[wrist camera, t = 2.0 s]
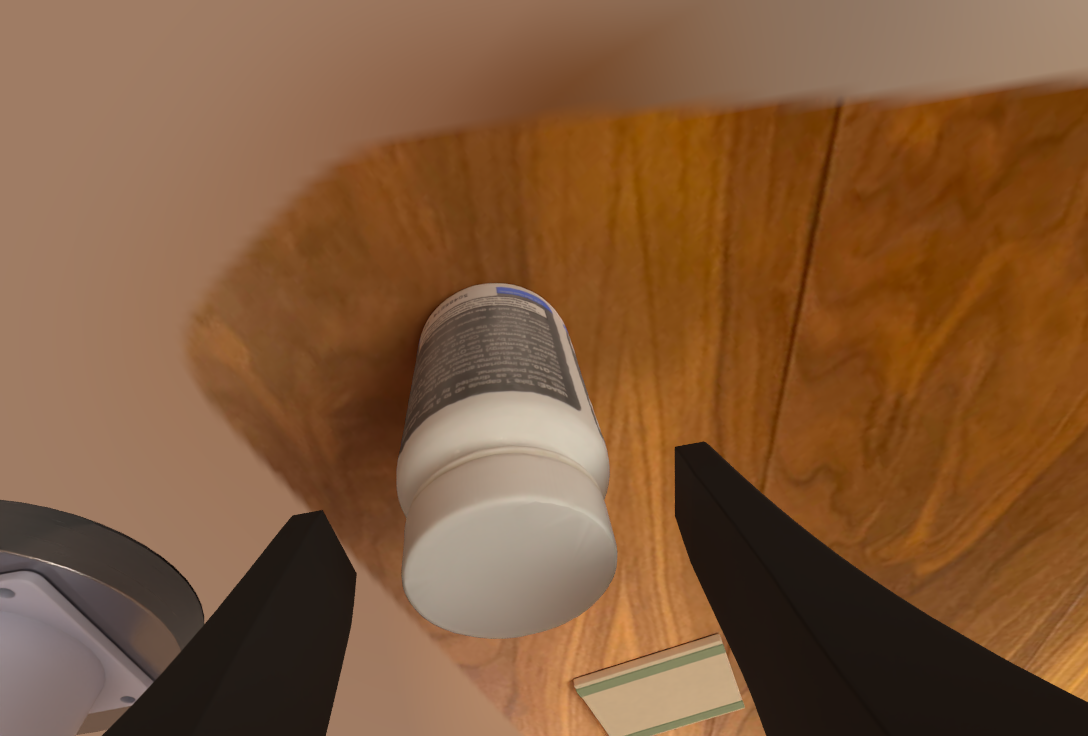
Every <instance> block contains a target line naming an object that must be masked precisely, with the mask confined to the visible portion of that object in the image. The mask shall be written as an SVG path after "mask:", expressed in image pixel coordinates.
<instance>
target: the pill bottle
mask: <svg viewBox="0 0 1088 736" xmlns="http://www.w3.org/2000/svg"><path fill="white" fill-rule="evenodd" d="M609 477H610V470H609V458H608V453H607V449H606V445H605V441H604V439H603V436H602V434H601V431H600V427H599V424H598V421H597V419H596V416H595V414H594V411H593V407H592V404H591V402H590V399H589V396H588V393H587V390H586V387H585V384H584V381H583V378H582V375H581V371H580V368H579V365H578V362H577V358H576V355H575V351H574V349H573V346H572V343H571V340H570V337H569V335H568V332H567V329H566V327H565V325H564V323H563V321H562V319H561V318H560V316H559V315H558V313H557V312H556V311H555V309H554V308H553V307H552V306H551V305H550V304H549V303H548V302H547V301H545V300H544V299H543V298H542V297H540V296H539V295H537V294H536V293H534V292H532V291H530V290H527V289H525V288H523V287H520V286H516V285H512V284H503V283H488V284H480V285H475V286H472V287H469V288H466V289H464V290H461V291H459V292H457V293H456V294H454V295H452V296H451V297H449V298H447V299H446V300H445V301H444V302H443V303H441V304H440V305H439V306H438V307H437V308H436V310H435V311H434V312H433V313H432V314H431V315H430V317H429V318H428V320H427V322H426V324H425V326H424V329H423V331H422V334H421V337H420V340H419V345H418V351H417V357H416V364H415V369H414V375H413V381H412V386H411V392H410V398H409V401H408V409H407V414H406V419H405V427H404V432H403V437H402V442H401V448H400V452H399V456H398V464H397V494H398V499H399V502H400V505H401V508H402V510H403V512H404V514H405V516H406V518H407V519H406V524H405V530H404V549H403V560H402V584H403V589H404V592H405V594H406V596H407V598H408V600H409V602H410V603H411V604H412V606H413V607H414V608H415V610H416V611H417V612H418V613H419V614H420V615H421V616H422V617H424V618H425V619H426V620H428V621H429V622H431V623H432V624H434V625H436V626H438V627H441V628H443V629H445V630H448V631H450V632H453V633H458V634H462V635H467V636H472V637H478V638H490V639H503V638H515V637H522V636H526V635H530V634H535V633H539V632H543V631H546V630H549V629H552V628H555V627H558V626H560V625H562V624H565V623H567V622H568V621H570V620H572V619H573V618H576V617H578V616H579V615H581V614H582V613H583V612H585V611H586V610H588V609H589V608H590V607H591V606H592V605H593V604H594V603H595V602H596V601H597V600H598V599H599V598H600V597H601V596H602V595H603V593H604V592H605V591H606V589H607V588H608V586H609V584H610V583H611V581H612V579H613V577H614V574H615V571H616V565H617V546H616V541H615V538H614V534H613V530H612V527H611V523H610V519H609V515H608V512H607V508H606V505H605V502H604V499H605V496H606V493H607V489H608V484H609Z"/></svg>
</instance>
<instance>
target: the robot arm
mask: <svg viewBox="0 0 1088 736" xmlns="http://www.w3.org/2000/svg"><path fill="white" fill-rule="evenodd" d="M675 517H676V520H677V523H678V526H679V529H680V532H681V535H682V538H683V541H684V544H685V547H686V550H687V553H688V556H689V559H690V562H691V564H692V566H693V568H694V571H695V573H696V575H697V577H698V579H699V582H700V584H701V586H702V588H703V590H704V592H705V595H706V597H707V599H708V601H709V603H710V605H711V607H712V610H713V612H714V614H715V616H716V618H717V620H718V622H719V625H720V627H721V629H722V631H723V633H724V635H725V637H726V639H727V642H728V644H729V646H730V648H731V650H732V652H733V654H734V657H735V659H736V661H737V663H738V665H739V667H740V669H741V672H742V674H743V676H744V679H745V681H746V683H747V686H748V688H749V691H750V693H751V695H752V698H753V701H754V703H755V706H756V709H757V712H758V714H759V717H760V720H761V723H762V725H763V728H764V731H765V733H766V736H1088V702H1086V701H1084V700H1082V699H1080V698H1078V697H1076V696H1074V695H1072V694H1070V693H1068V692H1066V691H1064V690H1062V689H1061V688H1059V687H1057V686H1055V685H1053V684H1051V683H1049V682H1047V681H1045V680H1043V679H1041V678H1039V677H1038V676H1036V675H1034V674H1032V673H1030V672H1028V671H1026V670H1024V669H1022V668H1020V667H1018V666H1017V665H1015V664H1013V663H1011V662H1009V661H1007V660H1005V659H1004V658H1002V657H1000V656H998V655H996V654H995V653H993V652H991V651H990V650H988V649H986V648H984V647H983V646H981V645H979V644H977V643H976V642H974V641H972V640H970V639H969V638H967V637H965V636H964V635H962V634H960V633H958V632H957V631H955V630H953V629H951V628H950V627H948V626H946V625H944V624H943V623H941V622H939V621H938V620H936V619H934V618H932V617H931V616H929V615H927V614H926V613H924V612H923V611H921V610H919V609H918V608H916V607H915V606H913V605H912V604H910V603H908V602H907V601H905V600H904V599H902V598H900V597H899V596H897V595H896V594H894V593H893V592H891V591H890V590H888V589H887V588H885V587H884V586H882V585H881V584H879V583H878V582H876V581H875V580H873V579H872V578H870V577H869V576H867V575H866V574H864V573H863V572H862V571H860V570H859V569H857V568H856V567H855V566H853V565H852V564H850V563H849V562H848V561H846V560H845V559H843V558H842V557H841V556H839V555H838V554H837V553H835V552H834V551H833V550H831V549H830V548H829V547H827V546H826V545H825V544H823V543H822V542H821V541H819V540H818V539H817V538H815V537H814V536H813V535H812V534H810V533H809V532H808V531H807V530H805V529H804V528H803V527H801V526H800V525H799V524H798V523H796V522H795V521H794V520H793V519H792V518H790V517H789V516H788V515H787V514H786V513H784V512H783V511H782V510H781V509H780V508H778V507H777V506H776V505H775V504H774V503H772V502H771V501H770V500H769V499H768V498H767V497H765V496H764V495H763V494H762V493H761V492H760V491H759V490H757V489H756V488H755V487H754V486H753V485H752V484H751V483H750V482H748V481H747V480H746V479H745V478H744V477H743V476H742V475H741V474H740V473H739V472H737V471H736V470H735V469H734V468H733V467H732V466H731V465H730V464H729V463H728V462H727V461H726V460H725V459H723V458H722V457H721V456H720V455H719V454H718V453H717V452H716V451H715V450H714V449H713V448H712V447H711V446H710V445H708V444H707V443H706V442H699V443H694V444H688V445H682V446H677V447H675ZM355 585H356V572H355V570H354V568H353V566H352V564H351V562H350V560H349V559H348V557H347V555H346V553H345V551H344V549H343V547H342V545H341V544H340V542H339V540H338V538H337V536H336V534H335V532H334V530H333V529H332V527H331V525H330V523H329V521H328V519H327V517H326V515H325V514H324V512H323V510H320V511H315V512H309V513H304V514H298V515H293V516H292V517H291V518H290V519H289V520H288V522H287V523H286V524H285V525H284V526H283V528H282V529H281V530H280V531H279V533H278V534H277V535H276V536H275V538H274V539H273V540H272V541H271V543H270V544H269V545H268V546H267V548H266V549H265V550H264V552H263V553H262V554H261V556H260V557H259V558H258V559H257V560H256V562H255V563H254V564H253V565H252V567H251V568H250V570H249V571H248V572H247V573H246V575H245V576H244V577H243V578H242V579H241V581H240V582H239V583H238V584H237V585H236V587H235V588H234V589H233V590H232V592H231V593H230V594H229V595H228V596H227V598H226V599H225V600H224V601H223V603H222V604H221V605H220V606H219V608H218V609H217V610H216V611H215V612H214V614H213V615H212V616H211V617H210V618H209V620H208V621H207V622H206V623H205V624H204V625H203V627H202V628H201V629H200V630H199V631H198V632H197V633H196V635H195V636H194V637H193V638H192V639H191V640H190V641H189V643H188V644H187V645H186V646H185V647H184V648H183V650H182V651H181V652H180V653H179V654H178V655H177V656H176V658H175V659H174V660H173V661H172V662H171V663H170V664H169V666H168V667H167V668H166V669H165V670H164V671H163V672H162V674H161V675H160V676H159V677H158V678H157V679H156V680H155V681H153V680H152V679H151V678H150V677H148V676H147V675H146V674H145V673H144V672H143V671H142V670H141V669H140V668H139V667H138V666H137V665H136V664H135V663H134V662H133V661H132V660H131V659H129V658H128V657H127V656H126V655H125V654H124V653H123V652H122V651H121V650H120V649H119V648H118V647H117V646H116V645H115V644H114V643H113V642H111V641H110V640H109V639H108V638H107V637H106V636H105V635H104V634H103V633H102V632H101V631H100V630H99V629H98V628H97V627H96V626H95V625H93V624H92V623H91V622H90V621H89V620H88V619H87V618H86V617H85V616H84V615H83V614H82V613H81V612H80V611H79V610H78V609H77V608H76V607H74V606H73V605H72V604H71V603H70V602H69V601H68V600H67V599H66V598H65V597H64V596H63V595H62V594H61V593H60V592H59V591H58V590H56V589H55V588H54V587H53V586H52V585H51V584H50V583H49V582H48V581H47V580H46V579H45V578H44V577H42V576H41V575H40V574H37V573H35V572H31V571H18V572H12V573H7V574H1V575H0V736H76V734H77V732H78V730H79V729H80V727H81V725H82V724H83V722H84V720H85V718H86V717H87V715H88V714H90V713H95V712H101V711H106V710H111V709H117V708H122V707H127V706H131V707H130V708H129V709H128V710H127V711H126V712H125V713H124V714H123V715H122V716H121V717H120V718H119V719H118V720H117V721H116V722H115V723H114V724H113V725H112V726H111V727H110V728H109V729H108V730H107V731H106V732H105V733H104V734H103V735H102V736H326V732H327V728H328V724H329V720H330V715H331V711H332V707H333V702H334V698H335V694H336V690H337V686H338V681H339V677H340V673H341V669H342V664H343V660H344V655H345V651H346V647H347V642H348V638H349V633H350V628H351V623H352V615H353V607H354V596H355Z"/></svg>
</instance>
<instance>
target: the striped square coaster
mask: <svg viewBox="0 0 1088 736" xmlns="http://www.w3.org/2000/svg"><path fill="white" fill-rule="evenodd" d="M573 682H574V687H575V688H576V691H577V693H578V694H579V696H580V697H582V698H583V700H584V701H585V702H586V704H587V705H588V707H589V708H590V710H591V711H592V712H593V714H594V715H595V717H596V718H597V719H598V721H599V722H600V724H601V725H602V726H603V728H604V729H605V731H606V732H607V733H608V735H609V736H653V735H656V734H660V733H663V732H666V731H670V730H673V729H677V728H680V727H683V726H687V725H690V724H693V723H697V722H700V721H703V720H707V719H710V718H713V717H717V716H720V715H723V714H727V713H730V712H733V711H737V710H740V709H743V708H745V706H744V704H743V701H742V698H741V695H740V692H739V689H738V686H737V684H736V681H735V678H734V675H733V672H732V669H731V666H730V663H729V660H728V657H727V655H726V651H725V648H724V645H723V643H722V640H721V638H720V635H719V634H715V635H712V636H709V637H706V638H703V639H700V640H696V641H693V642H690V643H687V644H684V645H681V646H677V647H674V648H671V649H668V650H665V651H662V652H658V653H655V654H652V655H649V656H646V657H642V658H639V659H636V660H633V661H630V662H627V663H623V664H620V665H617V666H614V667H611V668H608V669H604V670H601V671H598V672H595V673H592V674H589V675H585V676H582V677H579V678H576V679H573Z"/></svg>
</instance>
